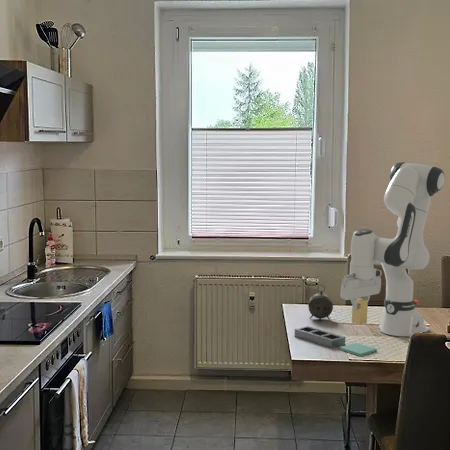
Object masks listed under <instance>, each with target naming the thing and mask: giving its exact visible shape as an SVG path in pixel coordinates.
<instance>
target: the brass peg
mask: <svg viewBox="0 0 450 450" xmlns="http://www.w3.org/2000/svg"><path fill="white" fill-rule="evenodd" d="M356 302H357V305H359V307H358V309H356V310H354V309H352V308H351V309H352V310H351V323H354V324H357V325H363V324H367V323H368V322H367V320H368V305H369V304H368V303H369V301H368V300H367V299H364V298H363V297H361V298H357V301H356Z"/></svg>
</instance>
